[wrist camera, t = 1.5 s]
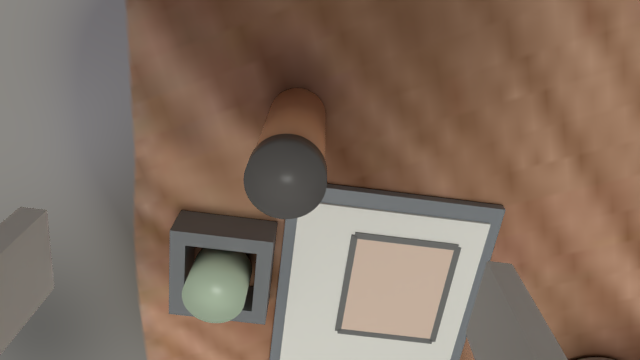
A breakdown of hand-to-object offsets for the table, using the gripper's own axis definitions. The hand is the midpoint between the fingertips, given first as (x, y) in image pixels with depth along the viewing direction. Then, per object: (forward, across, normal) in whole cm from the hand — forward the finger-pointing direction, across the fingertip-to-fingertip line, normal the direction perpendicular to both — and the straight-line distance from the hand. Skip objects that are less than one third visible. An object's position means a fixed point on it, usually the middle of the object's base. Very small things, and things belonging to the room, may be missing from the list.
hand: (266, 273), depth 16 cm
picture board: (+16, +7, -13) cm, 21 cm away
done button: (+14, -3, -10) cm, 18 cm away
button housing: (+16, -3, -10) cm, 19 cm away
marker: (+15, 0, 0) cm, 15 cm away
